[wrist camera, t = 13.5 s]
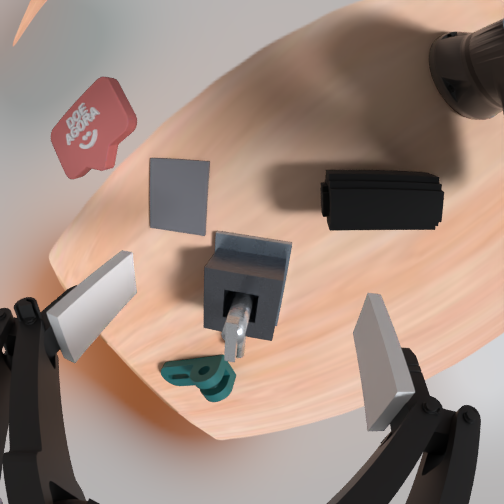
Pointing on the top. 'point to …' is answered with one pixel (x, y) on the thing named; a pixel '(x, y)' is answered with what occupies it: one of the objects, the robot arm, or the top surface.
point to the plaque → (93, 129)
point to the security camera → (381, 200)
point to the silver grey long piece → (236, 324)
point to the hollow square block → (246, 282)
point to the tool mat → (179, 195)
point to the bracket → (202, 375)
